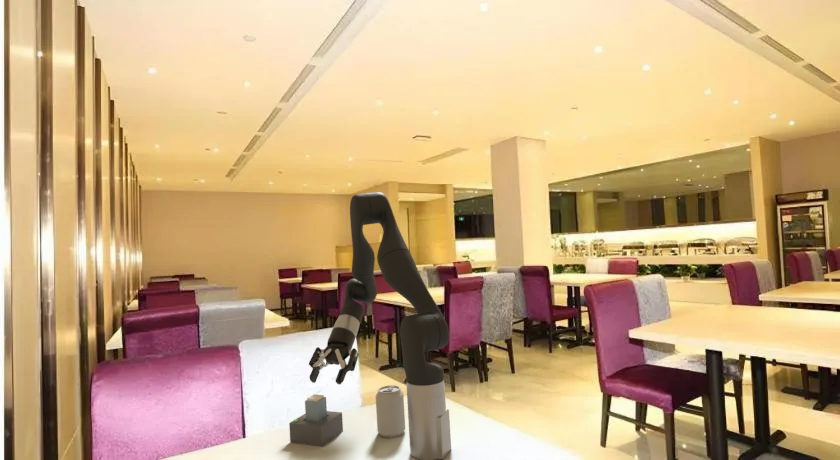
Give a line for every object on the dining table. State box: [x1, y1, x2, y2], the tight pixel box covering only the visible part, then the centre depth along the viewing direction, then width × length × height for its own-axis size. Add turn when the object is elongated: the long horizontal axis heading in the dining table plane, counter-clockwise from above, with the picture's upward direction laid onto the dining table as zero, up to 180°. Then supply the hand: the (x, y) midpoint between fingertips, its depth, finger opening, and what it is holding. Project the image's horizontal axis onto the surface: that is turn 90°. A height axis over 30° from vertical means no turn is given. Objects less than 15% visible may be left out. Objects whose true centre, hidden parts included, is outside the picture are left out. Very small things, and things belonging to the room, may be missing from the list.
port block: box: [289, 410, 344, 447], centre depth 123 cm, size 10×10×5 cm
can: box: [375, 384, 406, 439], centre depth 123 cm, size 8×8×12 cm
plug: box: [304, 394, 328, 422], centre depth 123 cm, size 4×4×10 cm
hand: (325, 382), depth 128 cm, fingers open, 8 cm apart
